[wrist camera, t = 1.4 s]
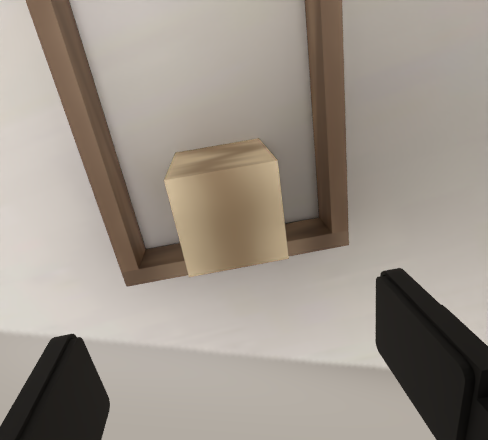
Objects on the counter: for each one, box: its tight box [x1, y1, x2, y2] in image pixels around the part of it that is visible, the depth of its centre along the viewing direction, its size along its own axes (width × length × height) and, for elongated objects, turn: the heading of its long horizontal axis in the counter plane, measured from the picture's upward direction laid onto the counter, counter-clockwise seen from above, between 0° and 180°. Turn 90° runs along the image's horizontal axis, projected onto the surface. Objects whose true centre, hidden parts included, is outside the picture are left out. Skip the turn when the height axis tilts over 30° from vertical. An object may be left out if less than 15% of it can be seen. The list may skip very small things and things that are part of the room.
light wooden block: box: [164, 138, 289, 277], centre depth 22 cm, size 6×6×7 cm
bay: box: [26, 0, 349, 286], centre depth 21 cm, size 16×21×3 cm
